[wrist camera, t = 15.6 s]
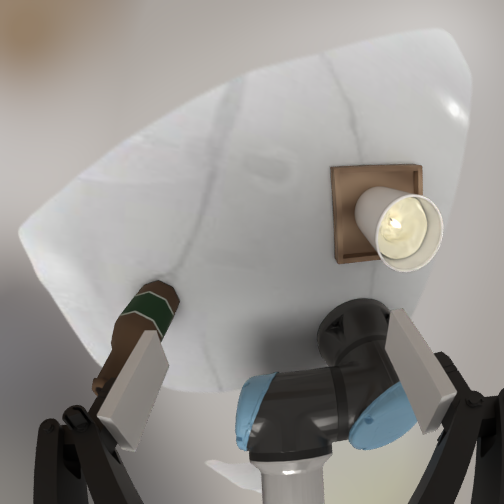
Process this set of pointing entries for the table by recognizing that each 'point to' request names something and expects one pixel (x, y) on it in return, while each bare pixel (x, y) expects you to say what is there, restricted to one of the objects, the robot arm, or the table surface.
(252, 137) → the table surface
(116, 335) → the beer bottle
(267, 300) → the table surface
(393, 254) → the candle holder
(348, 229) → the tray
